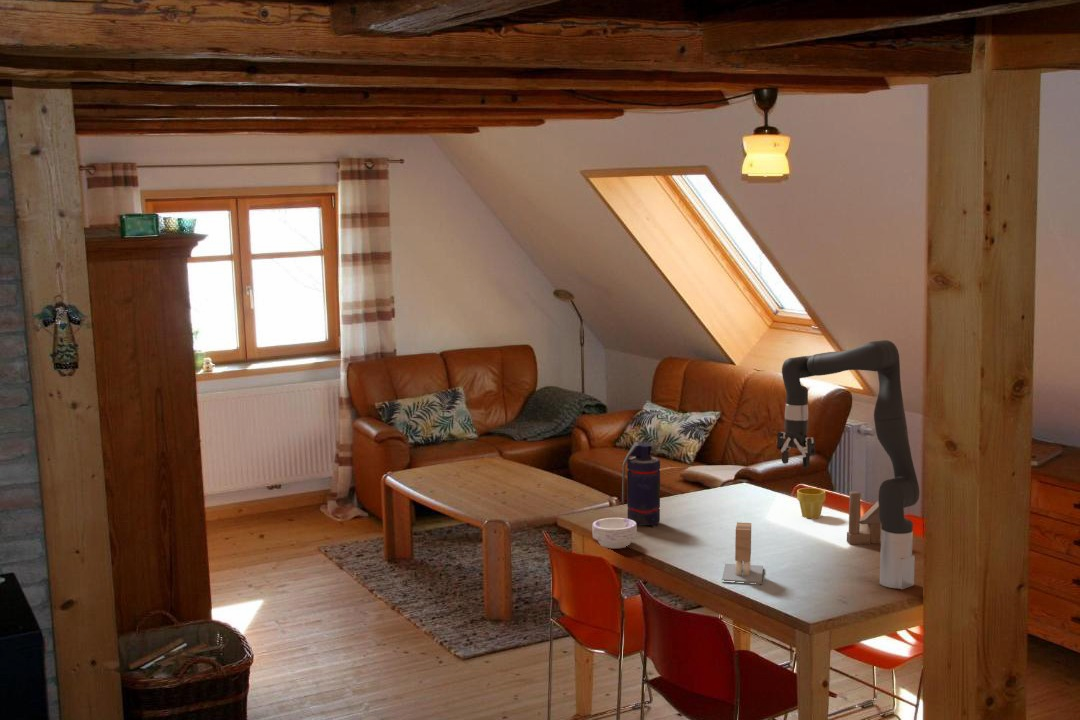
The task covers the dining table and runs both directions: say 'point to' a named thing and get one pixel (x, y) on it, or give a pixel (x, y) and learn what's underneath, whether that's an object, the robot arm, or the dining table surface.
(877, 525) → the wooden block structure
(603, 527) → the white bowl
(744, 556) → the brown rectangular block
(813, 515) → the plant pot
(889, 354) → the robot arm
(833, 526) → the dining table surface
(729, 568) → the peg stand
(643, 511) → the grenade
